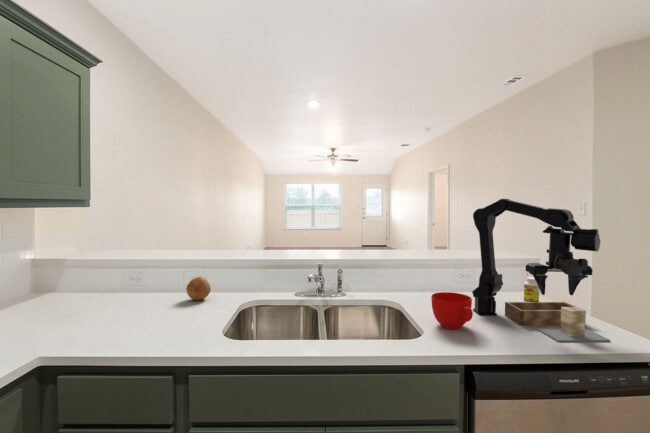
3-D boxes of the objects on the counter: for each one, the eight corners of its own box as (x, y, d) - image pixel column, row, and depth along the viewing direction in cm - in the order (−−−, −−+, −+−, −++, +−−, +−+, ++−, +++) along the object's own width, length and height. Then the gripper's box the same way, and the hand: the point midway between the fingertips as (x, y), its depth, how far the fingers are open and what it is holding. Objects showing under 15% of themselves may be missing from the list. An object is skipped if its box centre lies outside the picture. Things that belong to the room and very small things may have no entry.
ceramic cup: (452, 339, 112) (453, 307, 112) (423, 321, 128) (424, 293, 128) (488, 335, 115) (489, 303, 115) (455, 318, 132) (456, 291, 131)
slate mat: (557, 341, 109) (557, 340, 109) (537, 330, 119) (537, 328, 119) (610, 341, 110) (610, 340, 110) (586, 329, 120) (586, 328, 120)
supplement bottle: (520, 301, 154) (521, 277, 154) (531, 299, 156) (531, 276, 156) (531, 304, 149) (532, 279, 149) (542, 303, 151) (542, 278, 150)
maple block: (570, 336, 112) (570, 311, 112) (560, 331, 117) (561, 306, 116) (584, 336, 112) (585, 311, 112) (574, 331, 117) (575, 306, 117)
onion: (187, 297, 160) (186, 275, 160) (210, 296, 163) (210, 274, 163) (185, 303, 151) (185, 279, 151) (210, 301, 154) (210, 278, 154)
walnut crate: (521, 325, 124) (521, 311, 124) (504, 315, 135) (505, 302, 135) (585, 325, 124) (585, 310, 124) (563, 315, 135) (564, 301, 135)
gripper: (545, 251, 111) (543, 301, 112) (607, 251, 111) (604, 302, 112) (525, 246, 122) (523, 292, 123) (581, 246, 122) (578, 292, 123)
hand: (557, 294), depth 120 cm, fingers open, 9 cm apart
